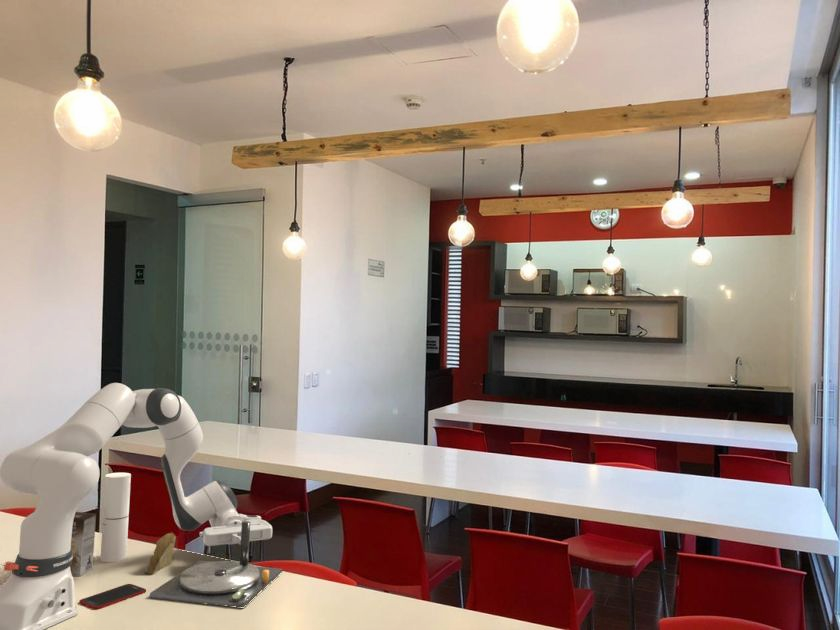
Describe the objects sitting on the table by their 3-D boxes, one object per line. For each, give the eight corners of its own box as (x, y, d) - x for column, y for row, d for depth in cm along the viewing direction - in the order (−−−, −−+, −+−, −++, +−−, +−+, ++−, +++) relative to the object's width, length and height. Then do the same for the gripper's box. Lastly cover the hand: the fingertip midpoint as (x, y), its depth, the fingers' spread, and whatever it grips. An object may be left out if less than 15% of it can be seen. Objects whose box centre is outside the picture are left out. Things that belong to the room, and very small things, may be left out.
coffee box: (49, 574, 184) (52, 516, 184) (64, 566, 190) (67, 510, 190) (80, 576, 183) (83, 518, 183) (93, 568, 189) (97, 512, 190)
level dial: (239, 597, 169) (241, 544, 169) (164, 589, 172) (166, 537, 173) (270, 569, 189) (273, 522, 190) (203, 562, 193) (205, 516, 193)
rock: (155, 570, 184) (186, 556, 192) (142, 542, 186) (173, 530, 194) (139, 585, 189) (170, 571, 197) (127, 558, 192) (158, 545, 200)
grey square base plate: (243, 608, 166) (244, 597, 166) (149, 597, 170) (150, 586, 170) (282, 573, 191) (282, 563, 192) (199, 564, 196) (200, 554, 196)
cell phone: (77, 604, 165) (77, 600, 165) (129, 586, 178) (129, 583, 178) (96, 611, 161) (96, 607, 161) (147, 593, 174) (147, 589, 174)
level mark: (267, 583, 180) (267, 572, 180) (260, 582, 180) (261, 571, 180) (269, 581, 182) (270, 570, 182) (263, 580, 182) (264, 569, 182)
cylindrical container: (116, 563, 194) (120, 478, 195) (95, 560, 196) (99, 476, 196) (131, 555, 201) (135, 473, 202) (110, 553, 203) (115, 471, 203)
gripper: (198, 521, 198) (208, 534, 186) (264, 515, 208) (278, 526, 196) (197, 542, 198) (207, 556, 186) (263, 535, 208) (277, 547, 196)
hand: (244, 541), depth 191 cm, fingers closed
